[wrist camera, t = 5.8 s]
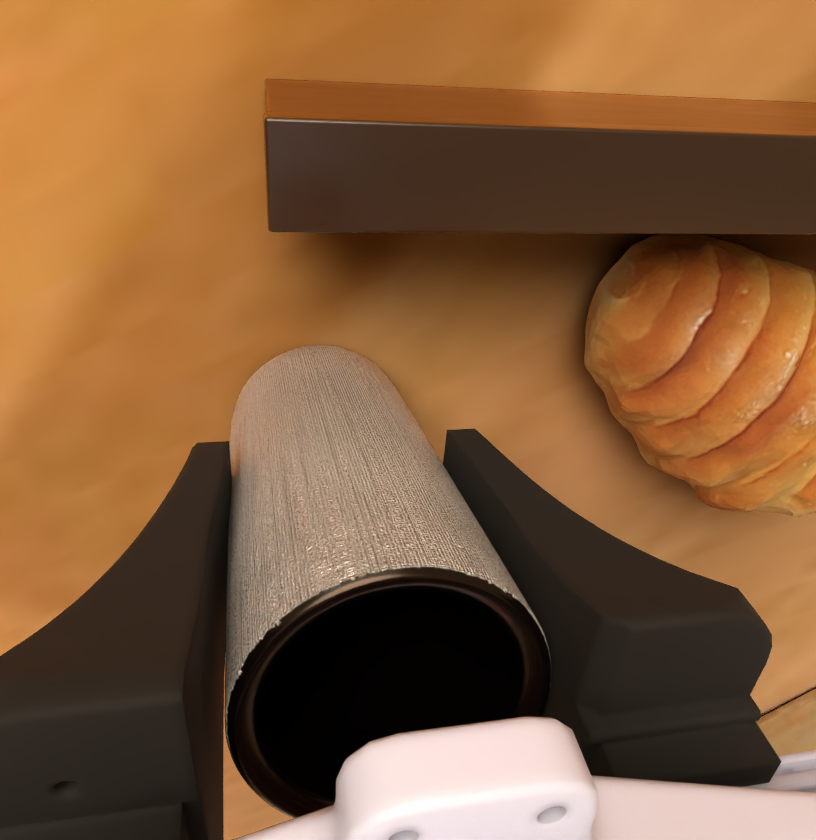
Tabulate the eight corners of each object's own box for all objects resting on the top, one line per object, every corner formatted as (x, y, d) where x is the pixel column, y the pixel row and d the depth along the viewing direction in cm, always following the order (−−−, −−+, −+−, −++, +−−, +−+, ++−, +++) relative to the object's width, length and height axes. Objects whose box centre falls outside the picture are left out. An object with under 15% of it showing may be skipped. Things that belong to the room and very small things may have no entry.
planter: (347, 309, 18) (465, 504, 9) (431, 444, 20) (601, 723, 11) (194, 404, 18) (148, 700, 9) (292, 530, 20) (342, 882, 11)
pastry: (509, 365, 20) (559, 444, 16) (684, 149, 17) (782, 195, 14) (716, 488, 24) (788, 571, 21) (879, 329, 21) (989, 395, 18)
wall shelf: (962, 179, 19) (1133, 236, 15) (263, 163, 16) (268, 233, 12) (997, 106, 18) (1189, 148, 14) (259, 72, 15) (263, 117, 11)
